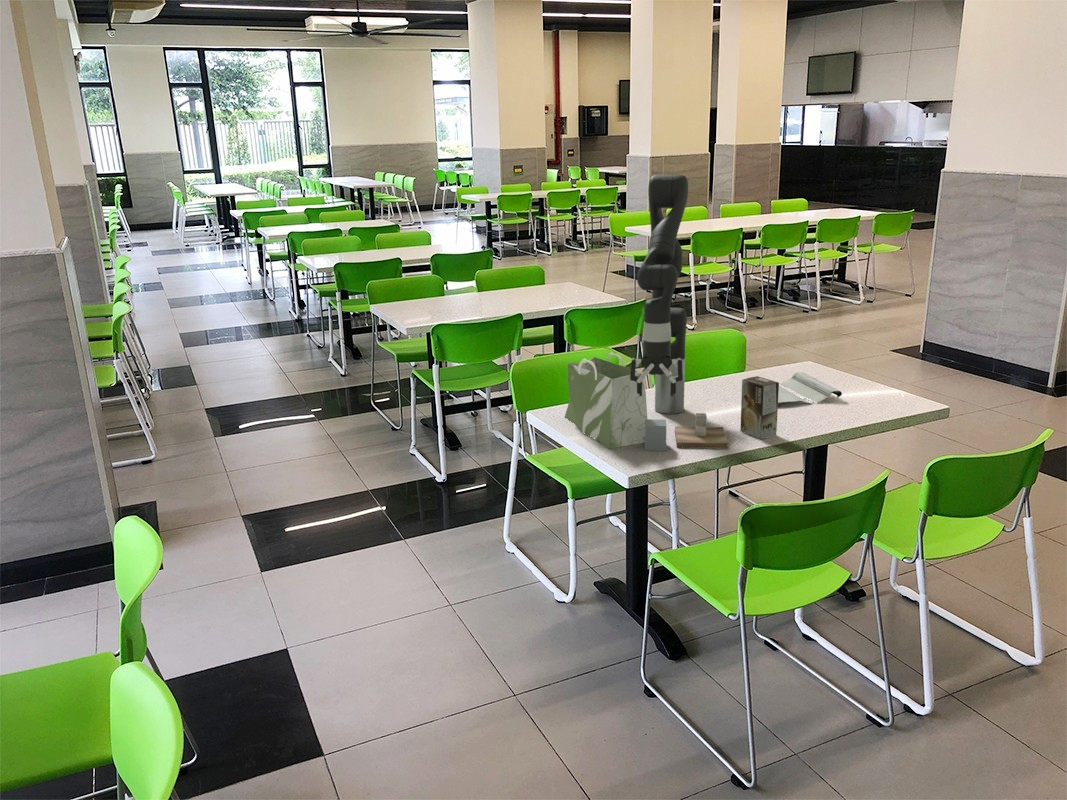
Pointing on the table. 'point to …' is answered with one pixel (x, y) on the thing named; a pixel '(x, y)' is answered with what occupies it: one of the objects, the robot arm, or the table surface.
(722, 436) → the flat brown square board
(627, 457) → the table surface
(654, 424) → the slate grey cube
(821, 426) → the table surface
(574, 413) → the grocery bag
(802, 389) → the mat
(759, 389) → the coffee box
